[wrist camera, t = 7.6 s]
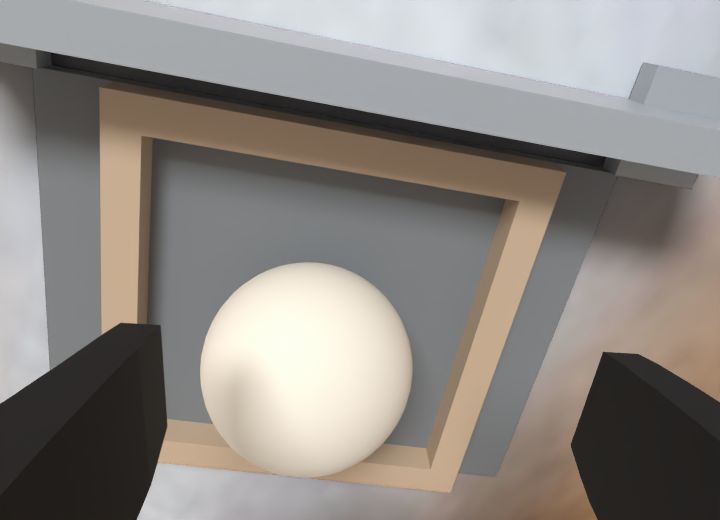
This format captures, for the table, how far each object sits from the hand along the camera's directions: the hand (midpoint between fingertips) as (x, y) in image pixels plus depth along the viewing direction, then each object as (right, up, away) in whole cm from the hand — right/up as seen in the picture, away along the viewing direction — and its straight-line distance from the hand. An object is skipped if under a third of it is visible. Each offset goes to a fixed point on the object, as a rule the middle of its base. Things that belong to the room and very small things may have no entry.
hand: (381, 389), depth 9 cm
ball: (-2, -1, +6) cm, 6 cm away
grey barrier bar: (-1, +7, +6) cm, 9 cm away
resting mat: (-2, +1, +9) cm, 9 cm away
